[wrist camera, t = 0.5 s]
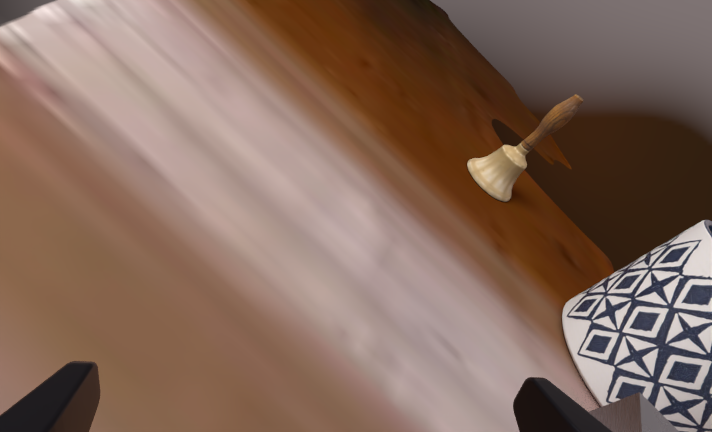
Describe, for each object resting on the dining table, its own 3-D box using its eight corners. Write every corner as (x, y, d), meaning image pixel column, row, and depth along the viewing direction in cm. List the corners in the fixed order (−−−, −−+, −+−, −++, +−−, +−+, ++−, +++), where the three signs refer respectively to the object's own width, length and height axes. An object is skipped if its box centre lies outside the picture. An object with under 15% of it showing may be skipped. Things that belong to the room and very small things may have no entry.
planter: (704, 439, 46) (892, 385, 37) (651, 496, 35) (902, 440, 25) (599, 297, 56) (727, 224, 46) (531, 306, 44) (681, 211, 35)
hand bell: (516, 196, 63) (608, 117, 53) (497, 206, 56) (598, 119, 47) (479, 157, 65) (562, 75, 56) (458, 163, 59) (546, 71, 49)
